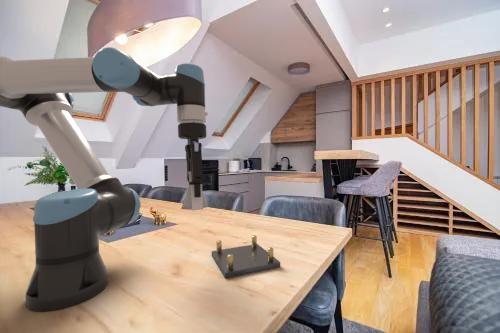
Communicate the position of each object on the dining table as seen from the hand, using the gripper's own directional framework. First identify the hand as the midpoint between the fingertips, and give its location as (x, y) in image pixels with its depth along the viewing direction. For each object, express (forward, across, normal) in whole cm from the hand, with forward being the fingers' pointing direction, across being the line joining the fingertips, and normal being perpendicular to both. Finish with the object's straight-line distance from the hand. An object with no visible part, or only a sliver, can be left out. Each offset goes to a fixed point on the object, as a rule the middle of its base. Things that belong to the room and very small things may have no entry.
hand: (195, 207), depth 63 cm
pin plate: (+18, +1, -14) cm, 22 cm away
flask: (0, 0, 0) cm, 0 cm away
